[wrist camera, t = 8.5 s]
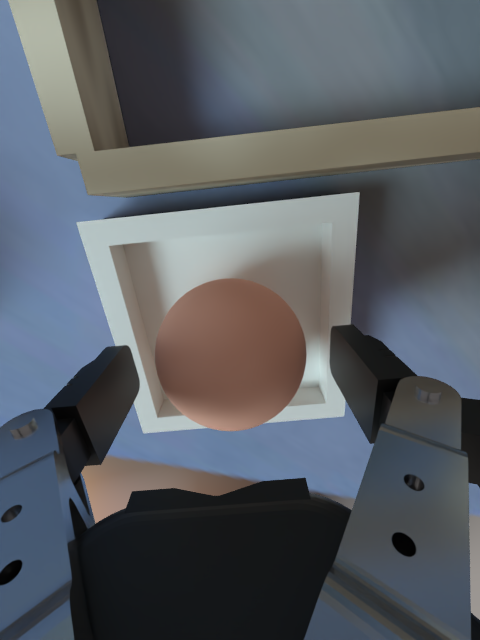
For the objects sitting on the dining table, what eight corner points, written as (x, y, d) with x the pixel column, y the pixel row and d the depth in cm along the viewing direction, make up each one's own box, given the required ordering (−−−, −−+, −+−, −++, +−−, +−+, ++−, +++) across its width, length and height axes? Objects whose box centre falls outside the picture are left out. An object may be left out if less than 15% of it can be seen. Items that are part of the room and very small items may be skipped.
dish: (102, 219, 13) (76, 222, 11) (339, 194, 12) (359, 191, 10) (154, 405, 17) (143, 433, 15) (331, 390, 17) (344, 416, 15)
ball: (162, 270, 13) (106, 321, 7) (289, 257, 13) (330, 299, 7) (184, 376, 15) (155, 475, 10) (291, 366, 15) (324, 461, 9)
